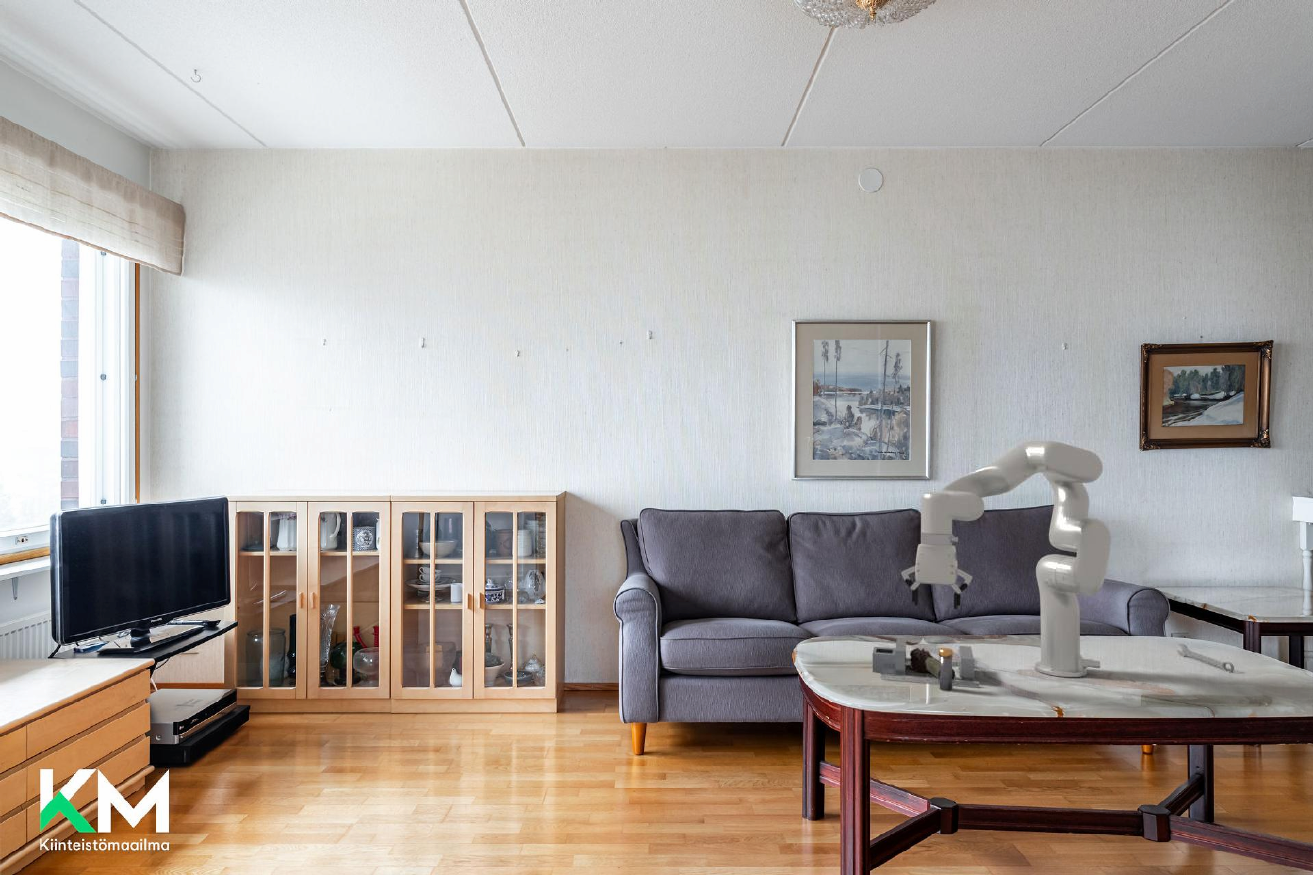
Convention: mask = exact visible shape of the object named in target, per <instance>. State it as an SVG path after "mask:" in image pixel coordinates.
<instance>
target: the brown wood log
mask: <svg viewBox="0 0 1313 875" xmlns="http://www.w3.org/2000/svg"><path fill="white" fill-rule="evenodd" d="M909 655H910V656H909V657H910V658H911V663H910V667H911V669H912V670H914V671H915V672H920V673H922V672H924V673H930V674H932V676H934V678H940V661H939V660H940V659H937V658H936V657H934V656H932V654H931V653H930V651H928V650H925V648H924V647H923V648H922V649H920V648H919V647H917V648H913V649H912V650H910V653H909ZM952 680H956V671H955V669H953V668H952Z"/></svg>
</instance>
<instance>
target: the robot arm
mask: <svg viewBox="0 0 1313 875" xmlns="http://www.w3.org/2000/svg"><path fill="white" fill-rule="evenodd" d="M1103 467H1104V466H1103V462H1102V459H1101V458H1100V457H1099V456H1098V455H1097V454H1096V453H1094V452H1093V451H1091V450H1088V449H1084V448H1080V447H1078V446H1073V445H1070V444H1067V443H1063V442H1059V441H1055V440H1034V441H1033V440H1028V441H1025V442H1022V443H1020V444H1019V445H1017V446H1016V447H1014V448H1013V449H1011V450H1009V451H1008V452H1007V453H1005V454H1004V455H1002V456H1001V457H999V459H997V460H995V461H994V462H992V463H991V464H989V465H988V466H985V467H982V468H979V469H977V470H975V471H972V472H970V473H967V474H965V475H963V476H961V477H958V478H957V479H954V480H953V481H951V482H949V483H948V484H947V485H945V486H944V487H943V488H941V489H940V490H939V491H938V492H937V491H930V492H929V491H928V492H924V493H922V494H921V497H920V543H919V544H918V545H917V549H916V550H917V551H916V557H915V565H913V566H911V567H909V568H908V569H905V570H902V571H901V573H900V574H901V577H902V579H903V580H904V583H905V584H906V585H907V586H908V587H909V588H910V590H911V602H913V603H914V607H917V606H918V605H919V603H920V589H919V586H920V585H921V584H923V585H924V584H925V585H935V586H936V585H937V586H950V587H951V588H952V589H953V590H954V594H953V609H954V610H957V609H958V608H959V607H961V606H962V605H961V602H962V601H961V599H962V598H961V597H962V596H961V595H962V593H963V592H964V590H966V589H967V588H968V587H969V585H970V583H971V581H972V579H973V575H970V574H968V573H966V572H965V571H963V570H962V569H959V568H958V556H957V550H956V545H953V543H958V542H959V536H955V535H953V532H952V531H953V520H956V521H962V522H963V521H964V522H970V521H971V522H972V521H975V520H978V519H979V518H980V517H982V515H983V514H984V511H985V502H984V500H983V498H987V497H994V496H995V497H996V496H1000V495H1003V494H1007V493H1009V492H1012V491H1013V490H1015V488H1017V487H1019V486H1020V485H1021V484H1022V483H1024V482H1025V481H1027V480H1029V479H1030V478H1031V477H1033V476H1034V475H1035V474H1038V473H1042V475H1043V476H1044V477H1045V479H1046V480H1047V481H1048V483H1049V484H1050V485H1051V488H1052V490H1053V495H1054V503H1053V509H1052V515H1051V520H1050V526H1049V532H1048V540H1049V543H1050V545H1051V546H1052V547H1054V548H1056V549H1058V550H1060V551H1067V552H1071V553H1076V556H1069V555H1065V554H1056V553H1053V554H1047V555H1045V556H1043V557H1041V558H1040V560H1038V562H1037V564H1036V568H1035V574H1036V580H1037V585H1038V590H1039V600H1040V601H1039V602H1040V605H1039V606H1040V661H1037V662H1036V663H1035V664H1034V669H1035V670H1036V671H1038V672H1040V673H1043V674H1045V675H1051V676H1054V677H1055V676H1056V677H1064V678H1079V677H1084V676H1086V675H1088V671H1087V669H1088V668H1092V669H1101V662H1100V660H1093V659H1092V658H1084V657H1083V656H1082V655H1081V635H1080V634H1081V628H1080V627H1081V626H1080V625H1081V624H1080V622H1081V616H1080V615H1081V614H1080V613H1081V612H1080V604H1079V601H1078V598H1077V595H1081V596H1093V595H1096V594H1097V593H1099V592H1100V590H1102V588H1103V585H1104V582H1105V579H1106V573H1107V570H1108V569H1107V568H1108V563H1109V559H1110V558H1109V557H1110V551H1111V545H1112V538H1111V532H1110V530H1109V527H1108V526H1107V525H1106V524H1105V523H1104V522H1103V521H1102V520H1099V519H1096V518H1091V517H1088V515H1089V510H1090V497H1089V496H1090V495H1089V493H1088V490H1087V488H1086V486H1084V484H1087V483H1088V484H1090V483H1094V482H1095V481H1097V480H1098V479H1099V478H1100V477H1101V475H1102V474H1103ZM912 573H914V579H915V582H913V580H912V579H910V577H909V575H910V574H912ZM958 576H959V577H961V578H963V579H964V582H963V583H962V584H961V585H959V584H958V583H957V582H958Z"/></svg>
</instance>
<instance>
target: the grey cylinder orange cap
mask: <svg viewBox="0 0 1313 875" xmlns="http://www.w3.org/2000/svg"><path fill="white" fill-rule="evenodd" d="M953 653H954V652H953V649H952V648H948V647H939V648H938V657H939V660H940V684H939V690H941V691H944V692H953V686H952V669H953V666H952V661H953Z"/></svg>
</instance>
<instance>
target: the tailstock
mask: <svg viewBox="0 0 1313 875" xmlns="http://www.w3.org/2000/svg"><path fill="white" fill-rule="evenodd" d="M895 642H896V643H895V647H883V646H882V647H881V646H874V647H873V651H872V673H879V674H881V673H882V674H894V675H905V676H906V673H907V663H906V657H907V639H906V638H905V639H904V638H896V641H895Z"/></svg>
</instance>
